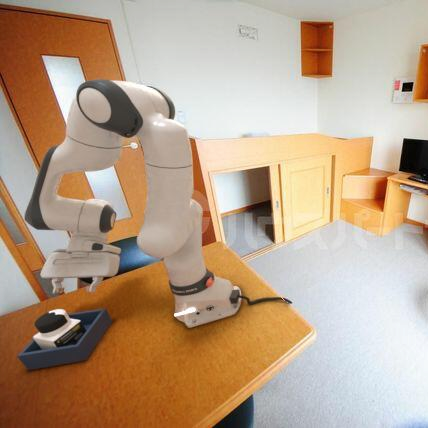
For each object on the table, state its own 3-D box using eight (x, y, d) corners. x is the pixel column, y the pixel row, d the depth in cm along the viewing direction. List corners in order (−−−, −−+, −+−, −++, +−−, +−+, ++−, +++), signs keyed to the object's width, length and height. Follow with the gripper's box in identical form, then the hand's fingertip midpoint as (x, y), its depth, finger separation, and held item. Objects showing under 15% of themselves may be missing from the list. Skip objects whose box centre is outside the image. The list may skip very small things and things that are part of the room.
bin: (112, 321, 80) (105, 308, 77) (86, 360, 68) (77, 346, 65) (64, 328, 77) (55, 315, 75) (28, 370, 65) (16, 356, 63)
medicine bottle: (64, 358, 67) (44, 328, 62) (44, 353, 68) (22, 324, 63) (90, 335, 74) (73, 307, 69) (71, 332, 75) (53, 304, 70)
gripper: (42, 247, 73) (25, 294, 69) (112, 245, 75) (100, 291, 70) (62, 250, 79) (48, 294, 75) (126, 249, 81) (116, 291, 76)
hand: (74, 293), depth 72 cm, fingers open, 8 cm apart
